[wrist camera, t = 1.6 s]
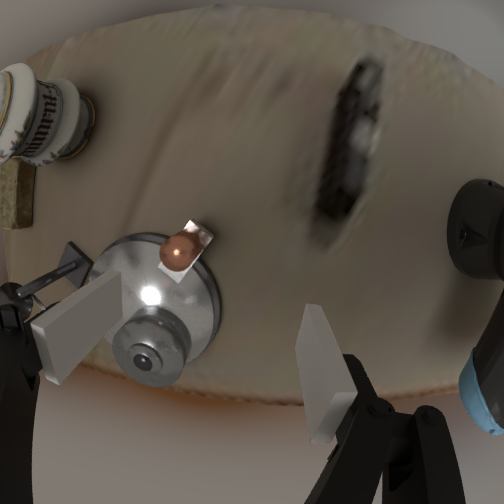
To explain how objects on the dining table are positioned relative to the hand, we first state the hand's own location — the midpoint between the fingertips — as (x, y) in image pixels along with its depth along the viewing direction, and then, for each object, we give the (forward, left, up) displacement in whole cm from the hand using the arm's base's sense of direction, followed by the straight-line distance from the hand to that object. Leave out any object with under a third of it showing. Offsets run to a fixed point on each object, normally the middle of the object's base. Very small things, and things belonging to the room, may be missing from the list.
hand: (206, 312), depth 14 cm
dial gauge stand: (+15, +18, -20) cm, 31 cm away
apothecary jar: (+30, +2, -20) cm, 36 cm away
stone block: (+33, +16, -20) cm, 42 cm away
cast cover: (0, +16, -17) cm, 23 cm away
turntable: (+4, +12, -18) cm, 22 cm away
